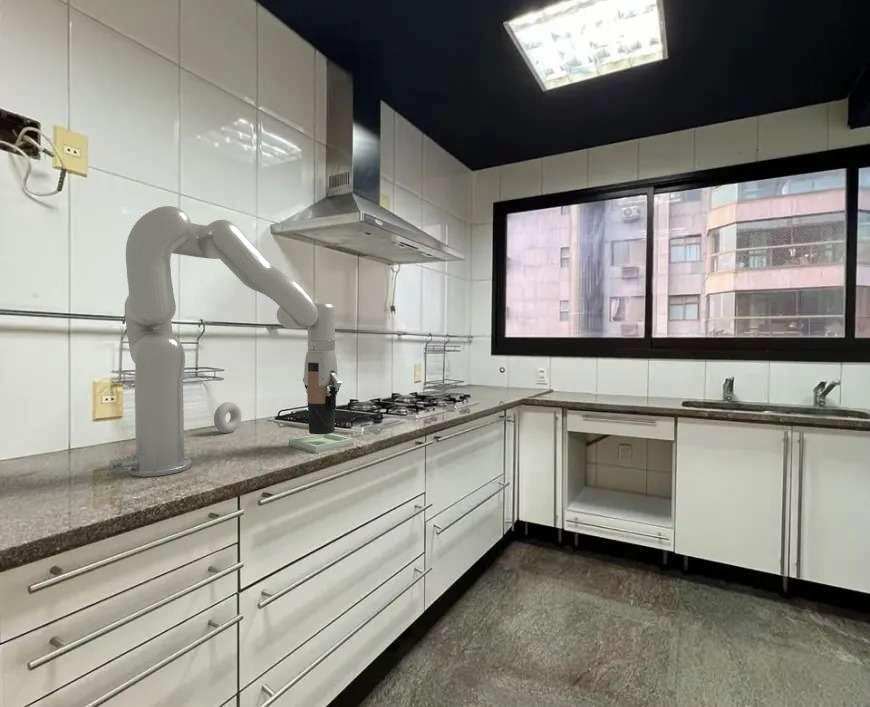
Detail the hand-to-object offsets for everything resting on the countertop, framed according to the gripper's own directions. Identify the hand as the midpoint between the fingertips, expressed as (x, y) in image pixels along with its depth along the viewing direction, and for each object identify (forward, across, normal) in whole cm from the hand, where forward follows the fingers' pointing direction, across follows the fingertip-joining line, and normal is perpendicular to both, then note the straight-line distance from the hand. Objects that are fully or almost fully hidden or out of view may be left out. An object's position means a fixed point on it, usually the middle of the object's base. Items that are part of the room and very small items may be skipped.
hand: (321, 408), depth 129 cm
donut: (+11, -37, -9) cm, 40 cm away
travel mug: (+7, 0, 0) cm, 7 cm away
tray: (+11, 0, 0) cm, 11 cm away
